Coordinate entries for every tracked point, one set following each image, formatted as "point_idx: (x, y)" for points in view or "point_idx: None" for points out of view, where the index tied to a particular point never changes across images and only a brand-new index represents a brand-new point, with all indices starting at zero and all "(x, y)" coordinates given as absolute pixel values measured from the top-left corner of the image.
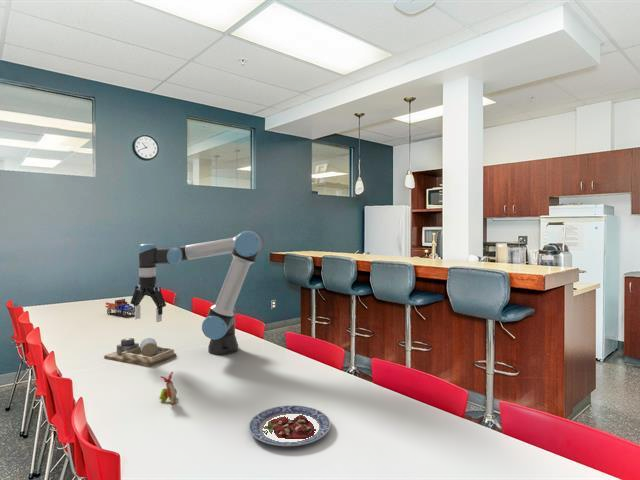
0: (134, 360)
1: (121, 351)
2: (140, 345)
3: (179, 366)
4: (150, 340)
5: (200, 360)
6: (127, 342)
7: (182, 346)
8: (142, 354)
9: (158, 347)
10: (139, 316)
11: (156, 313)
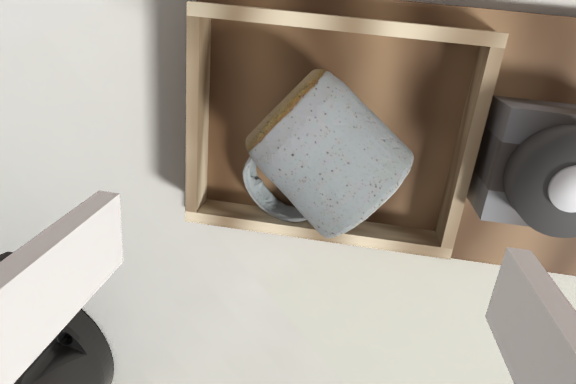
0: (354, 11)
1: (562, 106)
2: (396, 142)
3: (41, 56)
4: (310, 176)
5: (19, 183)
6: (540, 143)
7: (285, 361)
8: None
9: (304, 217)
10: (499, 321)
11: (36, 249)
